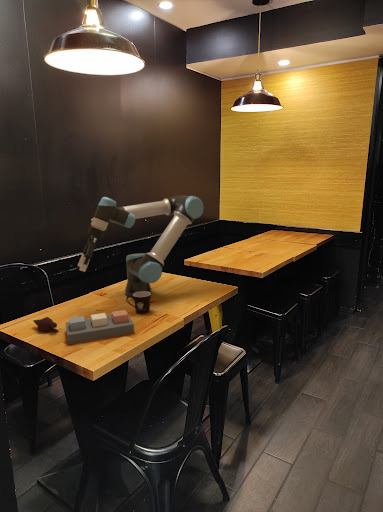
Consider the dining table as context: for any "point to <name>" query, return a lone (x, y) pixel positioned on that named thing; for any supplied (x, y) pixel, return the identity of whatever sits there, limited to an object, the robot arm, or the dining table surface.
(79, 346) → the dining table surface
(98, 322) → the white key
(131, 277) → the robot arm
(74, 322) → the slate key
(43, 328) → the dark brown irregular piece
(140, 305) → the coffee mug
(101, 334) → the key panel
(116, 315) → the terracotta key
